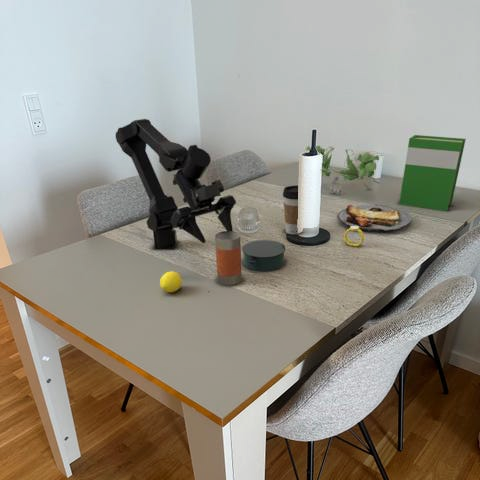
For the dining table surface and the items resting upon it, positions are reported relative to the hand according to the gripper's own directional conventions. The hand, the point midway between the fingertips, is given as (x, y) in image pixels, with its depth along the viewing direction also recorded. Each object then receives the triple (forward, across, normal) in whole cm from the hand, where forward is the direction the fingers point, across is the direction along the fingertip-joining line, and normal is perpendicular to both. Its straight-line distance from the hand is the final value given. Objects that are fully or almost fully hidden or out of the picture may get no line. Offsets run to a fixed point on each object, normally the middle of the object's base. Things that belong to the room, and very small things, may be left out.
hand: (218, 238), depth 125 cm
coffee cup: (+1, +39, +15) cm, 42 cm away
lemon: (+7, -15, +9) cm, 19 cm away
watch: (+16, +44, 0) cm, 47 cm away
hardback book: (+11, +95, +4) cm, 96 cm away
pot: (+9, +15, +6) cm, 18 cm away
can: (+11, 0, +5) cm, 12 cm away
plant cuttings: (-13, +86, +28) cm, 92 cm away
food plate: (+10, +66, +6) cm, 67 cm away
